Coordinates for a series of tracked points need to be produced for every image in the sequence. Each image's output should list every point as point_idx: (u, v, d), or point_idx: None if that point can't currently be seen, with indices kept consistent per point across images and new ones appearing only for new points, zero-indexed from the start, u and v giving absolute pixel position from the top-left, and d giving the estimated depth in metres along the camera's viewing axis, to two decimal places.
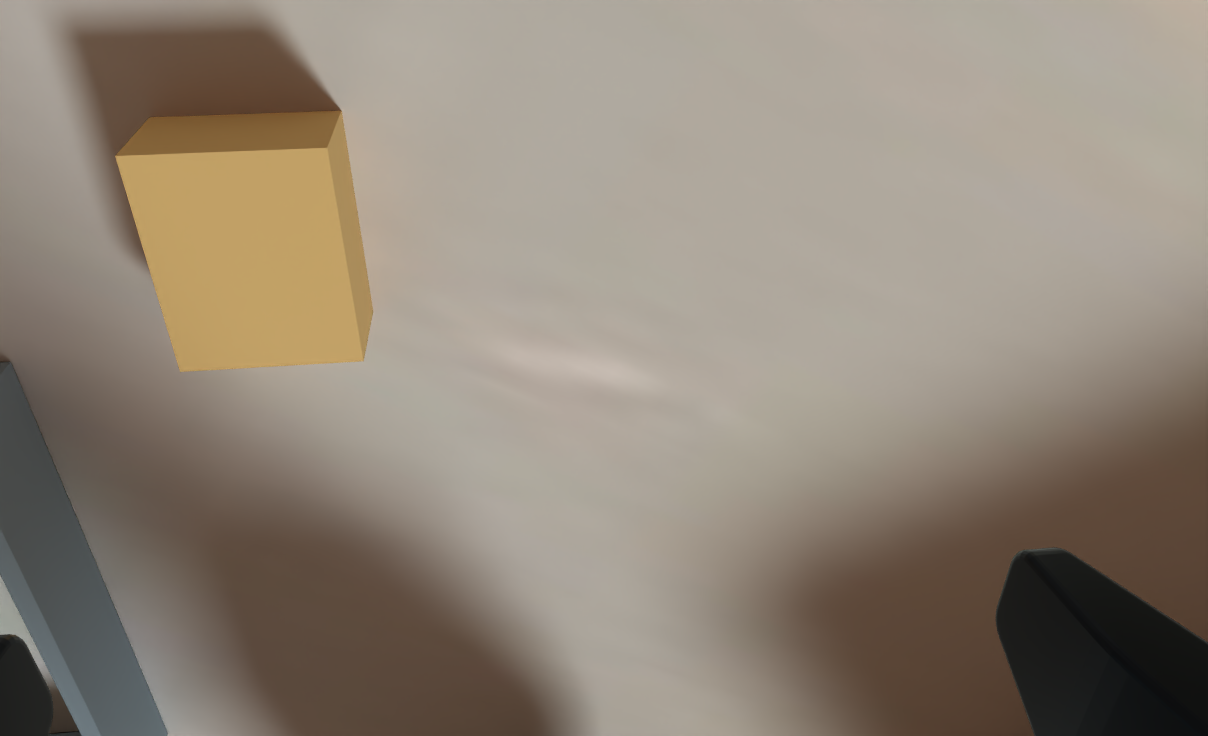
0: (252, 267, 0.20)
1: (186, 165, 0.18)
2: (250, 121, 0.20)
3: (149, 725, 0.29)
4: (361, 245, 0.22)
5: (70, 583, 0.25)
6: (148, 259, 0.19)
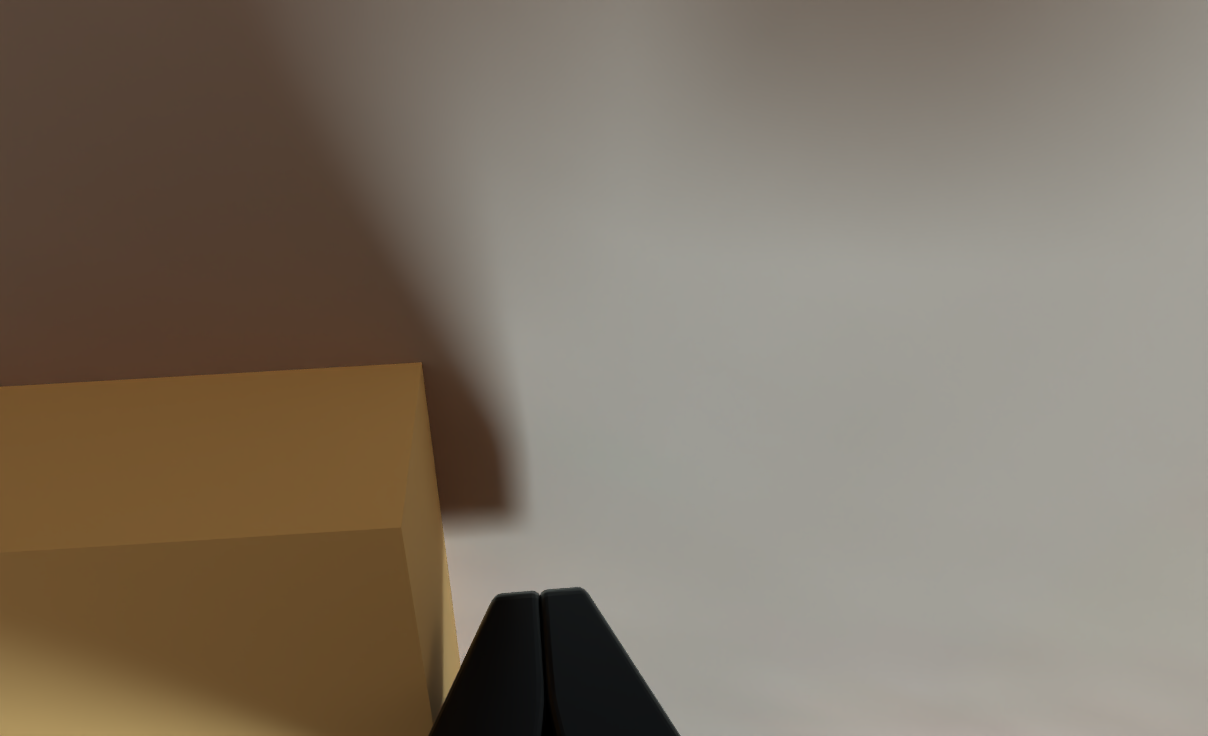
0: None
1: None
2: (195, 394, 0.08)
3: None
4: None
5: None
6: None
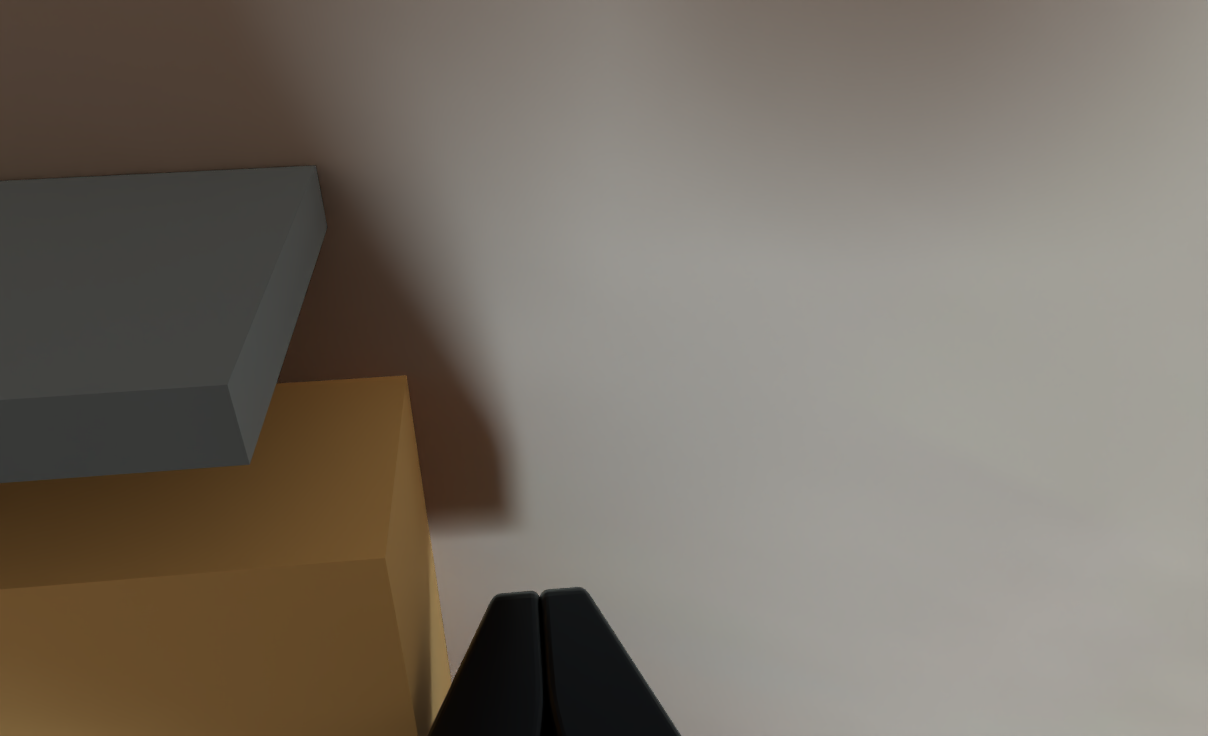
0: None
1: None
2: None
3: None
4: (442, 634, 0.10)
5: None
6: None
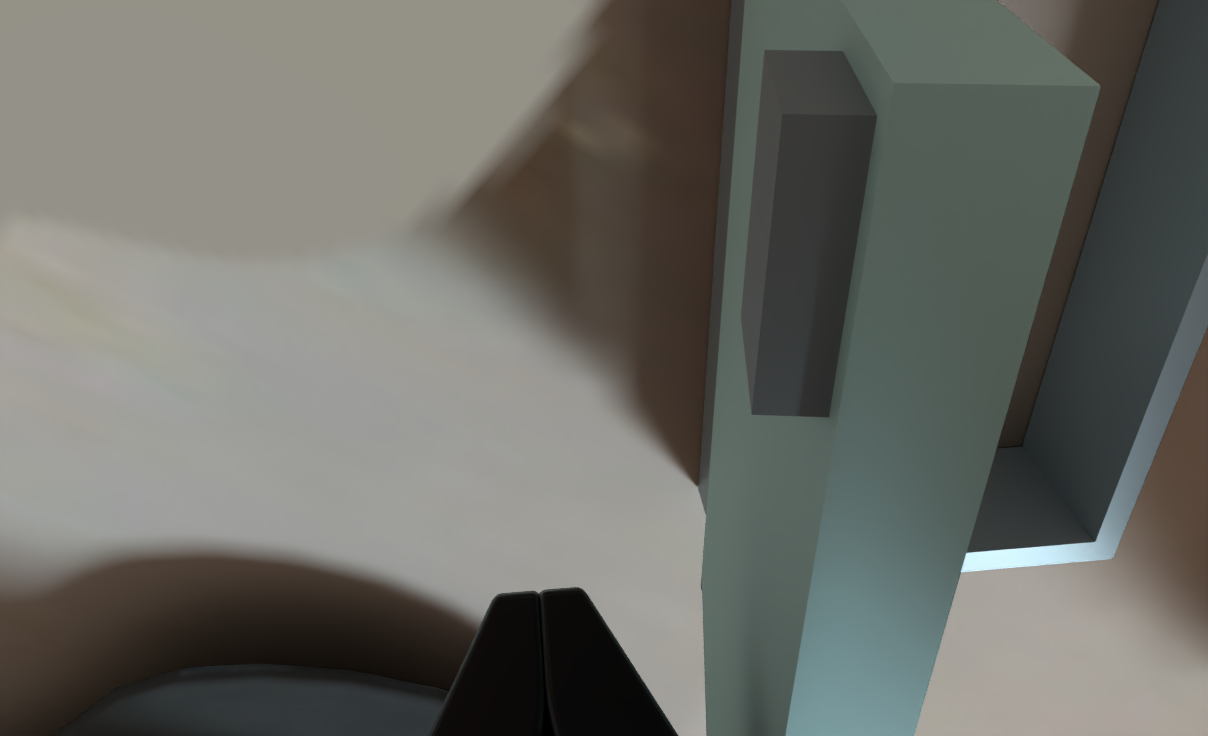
0: None
1: None
2: None
3: None
4: None
5: None
6: None
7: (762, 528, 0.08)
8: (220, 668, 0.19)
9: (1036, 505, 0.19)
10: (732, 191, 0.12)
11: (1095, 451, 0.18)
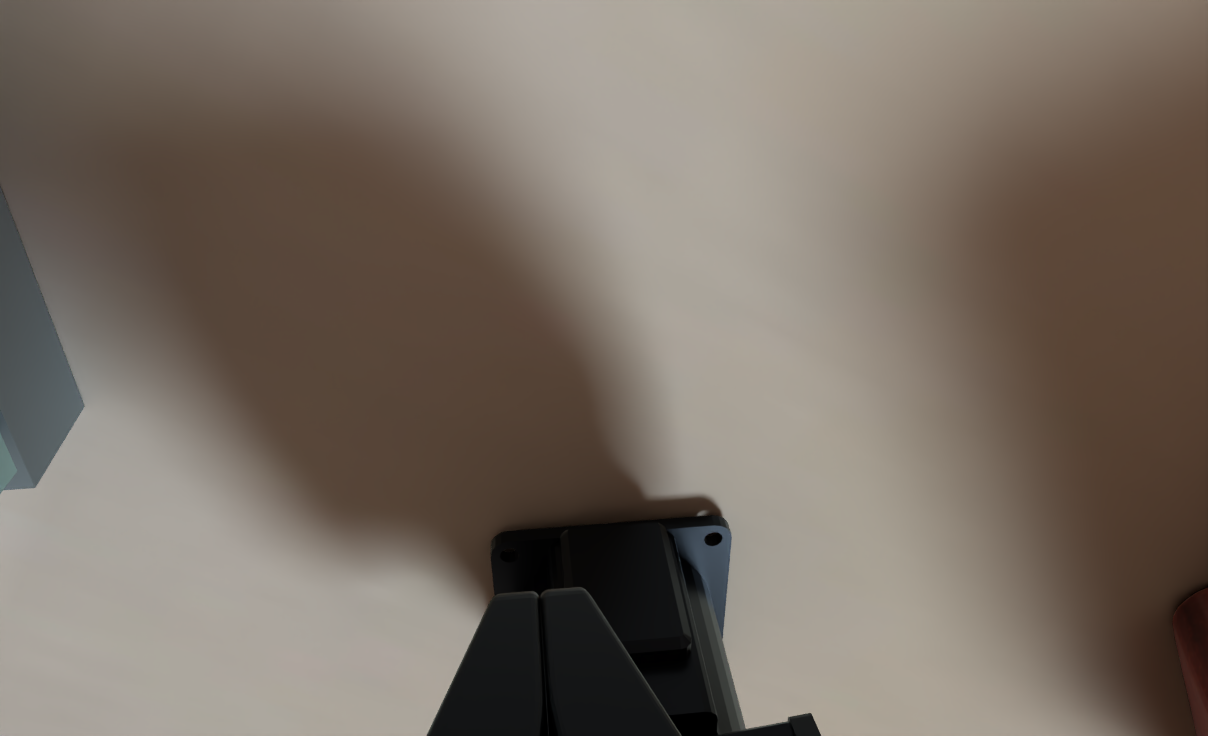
0: None
1: None
2: None
3: (52, 372, 0.21)
4: None
5: None
6: None
7: None
8: None
9: None
10: None
11: None
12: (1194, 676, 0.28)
